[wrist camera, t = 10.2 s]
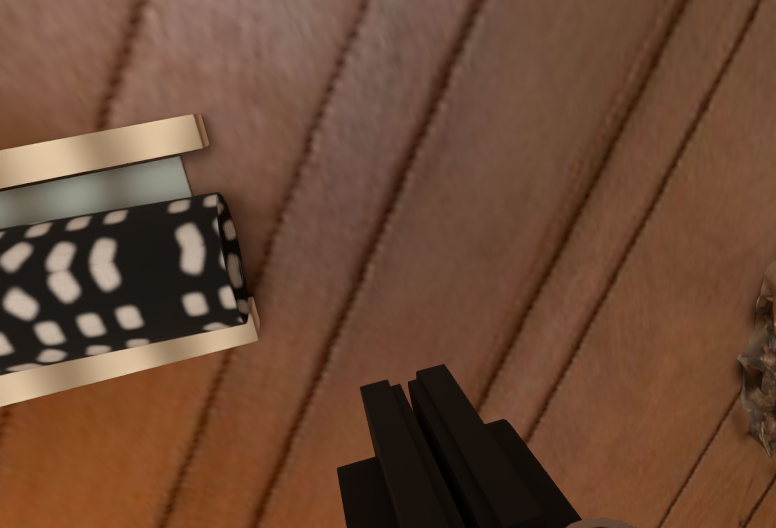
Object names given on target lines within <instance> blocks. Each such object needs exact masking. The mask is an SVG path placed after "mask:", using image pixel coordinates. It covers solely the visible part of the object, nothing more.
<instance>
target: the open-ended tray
mask: <svg viewBox="0 0 776 528" xmlns="http://www.w3.org/2000/svg"><path fill="white" fill-rule="evenodd" d="M209 145H210V144H209V141H208V137H207V134H206V130H205V127H204V123H203V120H202V116H201V114H191V115H186V116H181V117H175V118H170V119H165V120H159V121H154V122H149V123H144V124H138V125H133V126H128V127H122V128H117V129H112V130H106V131H101V132H96V133H90V134H85V135H80V136H74V137H69V138H64V139H58V140H53V141H48V142H42V143H37V144H32V145H27V146H21V147H16V148H11V149H5V150H0V188H5V187H10V186H15V185H20V184H25V183H30V182H35V181H40V180H45V179H50V178H55V177H60V176H65V175H70V174H75V173H80V172H86V171H91V170H96V169H101V168H106V167H111V166H116V165H121V164H126V163H131V162H136V161H141V160H146V159H151V158H156V157H161V156H166V155H171V154H176V153H181V152H186V151H192V150H197V149H202V148H205V147H207V146H209ZM187 197H193V196H192V192H191V189H190V186H189V182H188V179H187V176H186V173H185V169H184V166H183V163H182V159H181V156H177V157H172V158H167V159H162V160H157V161H152V162H147V163H141V164H136V165H131V166H126V167H121V168H116V169H111V170H106V171H101V172H96V173H91V174H86V175H81V176H76V177H71V178H66V179H61V180H56V181H51V182H46V183H41V184H36V185H31V186H26V187H21V188H16V189H11V190H6V191H1V192H0V229H1V228H7V227H13V226H19V225H25V224H31V223H37V222H43V221H49V220H55V219H61V218H67V217H73V216H79V215H85V214H91V213H97V212H103V211H109V210H115V209H121V208H127V207H133V206H139V205H145V204H151V203H157V202H163V201H169V200H175V199H181V198H187ZM248 307H249V317H248V322H247V324H244V325H240V326H235V327H230V328H225V329H221V330H216V331H211V332H206V333H201V334H197V335H192V336H187V337H182V338H177V339H173V340H168V341H163V342H158V343H153V344H149V345H144V346H139V347H134V348H129V349H125V350H120V351H115V352H110V353H105V354H101V355H96V356H91V357H86V358H81V359H77V360H72V361H67V362H62V363H57V364H53V365H48V366H43V367H38V368H34V369H29V370H24V371H19V372H14V373H10V374H5V375H0V407H1V406H4V405H8V404H12V403H16V402H20V401H24V400H28V399H32V398H36V397H40V396H44V395H47V394H51V393H55V392H59V391H63V390H67V389H71V388H75V387H79V386H83V385H87V384H90V383H94V382H98V381H102V380H106V379H110V378H114V377H118V376H122V375H126V374H130V373H133V372H137V371H141V370H145V369H149V368H153V367H157V366H161V365H165V364H169V363H173V362H176V361H180V360H184V359H188V358H192V357H196V356H200V355H204V354H208V353H212V352H216V351H219V350H223V349H227V348H231V347H235V346H239V345H243V344H247V343H251V342H255V341H259V327H260V320H259V316H258V313H257V309H256V306H255V302H254V299H253V297H249V298H248Z"/></svg>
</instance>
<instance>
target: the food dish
mask: <svg viewBox="0 0 776 528" xmlns="http://www.w3.org/2000/svg"><path fill="white" fill-rule="evenodd" d="M760 294H761V295H760V296H759V298H758V300H757V305H756V311H755V325H754V329H753V332H752V335H751V339H750V341H749V346H748V348H747V352H746V354H745V356H744V357H741V354H740V355H739V356H738V358H737V360H739V361H740V363H741V364H742V366H743V367H742V368H743V377H742V378H743V379H742V380H743V388H742V392H741V399H742V403H741V404H742V408H743V409H746V410H747V411H748V412H749V414H750V425H749V431H750V432H751V433H752V434H753V436H754V437H755V438H756V439H757V440H758V442H760V443H761V444H762V446H763V447H764V449H765V450H766V452H767V454H768V456H769V457H772V451H773V450H774V449H775V448H776V260H774V261H773V262H772V263H771V264H770V265H769V267H768V269H767V270H766V272H765V273H764V280H763V284H762V286H761V293H760ZM771 450H772V451H771Z"/></svg>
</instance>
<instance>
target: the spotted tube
mask: <svg viewBox="0 0 776 528" xmlns="http://www.w3.org/2000/svg"><path fill="white" fill-rule="evenodd" d="M248 317H249V307H248V295H247V287H246V280H245V274H244V268H243V263H242V258H241V253H240V249H239V244H238V240H237V236H236V232H235V229H234V225H233V222H232V218H231V215H230V212H229V209H228V207H227V204H226V202H225V200H224V198H223V196H222V195H221V193H219V192H217V193H211V194H205V195H199V196H193V197H187V198H181V199H175V200H169V201H163V202H157V203H151V204H145V205H139V206H133V207H127V208H121V209H115V210H109V211H103V212H97V213H91V214H85V215H79V216H73V217H67V218H61V219H55V220H49V221H43V222H37V223H31V224H25V225H19V226H13V227H7V228H1V229H0V375H5V374H10V373H14V372H19V371H24V370H29V369H34V368H38V367H43V366H48V365H53V364H57V363H62V362H67V361H72V360H77V359H81V358H86V357H91V356H96V355H101V354H105V353H110V352H115V351H120V350H125V349H129V348H134V347H139V346H144V345H149V344H153V343H158V342H163V341H168V340H173V339H177V338H182V337H187V336H192V335H197V334H201V333H206V332H211V331H216V330H221V329H225V328H230V327H235V326H240V325H244V324H247V322H248Z"/></svg>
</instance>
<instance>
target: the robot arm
mask: <svg viewBox="0 0 776 528" xmlns="http://www.w3.org/2000/svg"><path fill="white" fill-rule="evenodd" d="M416 378H417V379H416V380H412V381H408V388H409V393H410V398H411V404H412V409H413V411H412V409H411V406H410V404H409V402H408V400H407V398H406V396H405V393H404V391H403V389H402V387H401V385H400V384H398V385H394V386H390V384H389V382H388V380H383V381H380V382H376V383H372V384H369V385H365V386H361V387H360V390H361V395H362V400H363V404H364V408H365V413H366V417H367V421H368V426H369V430H370V435H371V439H372V443H373V448H374V452H375V456H376V457H372V458H369V459H366V460H362V461H359V462H355V463H352V464H349V465H345V466H342V467H338V468H337V472H338V479H339V485H340V491H341V496H342V502H343V508H344V514H345V520H346V526H347V528H636V527H634V526H632V525H629V524H627V523H624V522H622V521H618V520H612V519H607V518H590V519H584V520H582V519H581V518H580V516H579V515H578V514H577V512H576V511H575V510H574V508H573V507H572V506H571V504H570V503H569V502H568V500H567V499H566V498H565V496H564V495H563V494H562V492H561V491H560V490H559V488H558V487H557V486H556V484H555V483H554V482H553V480H552V479H551V478H550V476H549V475H548V474H547V472H546V471H545V470H544V468H543V467H542V466H541V464H540V463H539V462H538V460H537V459H536V458H535V456H534V455H533V454H532V452H531V451H530V450H529V448H528V447H527V446H526V444H525V443H524V442H523V440H522V439H521V438H520V436H519V435H518V434H517V432H516V431H515V430H514V428H513V427H512V426H511V424H510V423H509V422H508V421H507V420H504V419H501V420H498V421H495V422H491V423H488V424H484V423H483V421H482V420H481V418H480V417H479V415H478V414H477V412H476V411H475V409H474V408H473V406H472V405H471V403H470V402H469V400H468V399H467V397H466V396H465V394H464V393H463V391H462V390H461V388H460V387H459V385H458V384H457V382H456V381H455V379H454V378H453V376H452V375H451V373H450V372H449V370H448V369H447V367H446V366H445V365H444V364H442V365H438V366H434V367H431V368H427V369H423V370H420V371H417V372H416Z"/></svg>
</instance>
